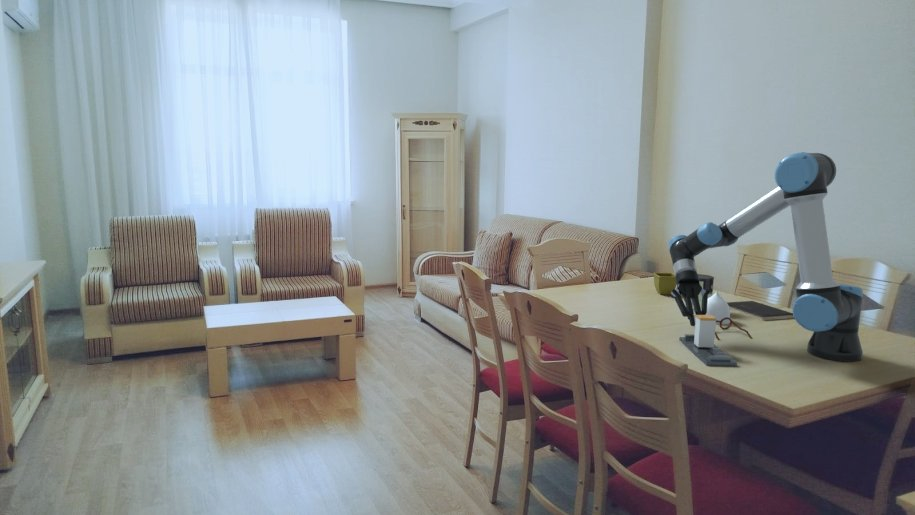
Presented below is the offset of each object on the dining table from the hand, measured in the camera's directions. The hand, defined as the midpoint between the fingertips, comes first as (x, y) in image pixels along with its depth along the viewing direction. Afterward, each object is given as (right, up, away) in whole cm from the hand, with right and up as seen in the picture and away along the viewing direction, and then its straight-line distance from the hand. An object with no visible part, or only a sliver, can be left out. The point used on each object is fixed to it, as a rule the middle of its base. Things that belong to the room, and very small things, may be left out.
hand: (699, 334), depth 204 cm
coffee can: (+20, +3, +52) cm, 56 cm away
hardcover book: (+43, +2, +49) cm, 65 cm away
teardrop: (+20, +1, +35) cm, 40 cm away
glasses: (+15, -3, +16) cm, 23 cm away
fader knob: (0, -3, -3) cm, 4 cm away
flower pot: (+16, +8, +82) cm, 84 cm away
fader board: (0, -5, -5) cm, 7 cm away
